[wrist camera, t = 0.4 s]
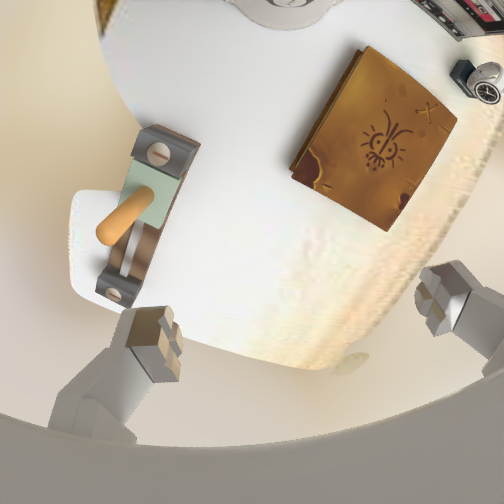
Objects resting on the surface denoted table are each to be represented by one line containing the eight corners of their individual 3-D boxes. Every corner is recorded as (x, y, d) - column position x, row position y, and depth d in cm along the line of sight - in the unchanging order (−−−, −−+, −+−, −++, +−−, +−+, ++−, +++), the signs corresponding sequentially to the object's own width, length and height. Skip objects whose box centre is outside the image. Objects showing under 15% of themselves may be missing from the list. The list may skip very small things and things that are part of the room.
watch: (444, 82, 34) (483, 86, 24) (462, 54, 30) (501, 53, 20) (463, 104, 35) (502, 113, 25) (480, 76, 31) (519, 81, 22)
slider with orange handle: (137, 156, 40) (86, 188, 28) (182, 176, 42) (145, 217, 29) (121, 203, 45) (75, 249, 32) (162, 223, 46) (126, 276, 34)
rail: (157, 124, 41) (138, 130, 35) (200, 144, 43) (188, 153, 36) (109, 271, 57) (94, 293, 50) (141, 288, 58) (128, 311, 52)
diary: (378, 219, 48) (389, 234, 43) (289, 168, 45) (291, 178, 40) (442, 116, 37) (461, 121, 32) (357, 50, 34) (369, 45, 29)
